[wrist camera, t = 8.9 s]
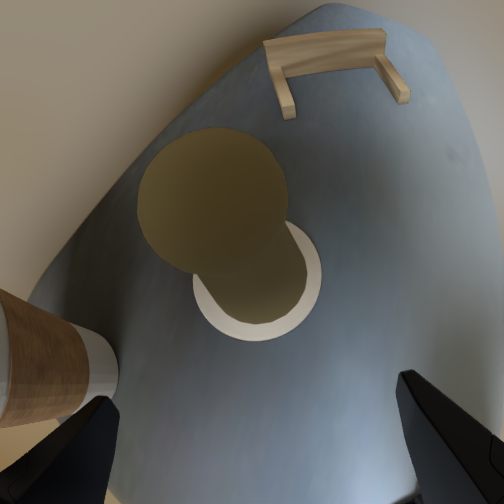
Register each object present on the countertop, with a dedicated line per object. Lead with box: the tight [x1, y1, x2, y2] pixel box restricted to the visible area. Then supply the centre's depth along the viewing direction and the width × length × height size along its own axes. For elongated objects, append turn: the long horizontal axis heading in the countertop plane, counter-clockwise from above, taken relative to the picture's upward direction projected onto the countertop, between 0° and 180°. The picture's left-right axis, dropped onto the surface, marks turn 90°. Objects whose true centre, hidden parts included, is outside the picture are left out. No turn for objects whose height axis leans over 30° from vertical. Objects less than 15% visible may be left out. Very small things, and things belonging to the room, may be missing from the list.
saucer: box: [193, 221, 322, 341], centre depth 19 cm, size 8×8×1 cm
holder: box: [263, 28, 411, 120], centre depth 22 cm, size 6×11×4 cm, turn 98°
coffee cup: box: [0, 289, 119, 428], centre depth 13 cm, size 8×8×15 cm
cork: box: [137, 128, 308, 325], centre depth 14 cm, size 6×6×11 cm
